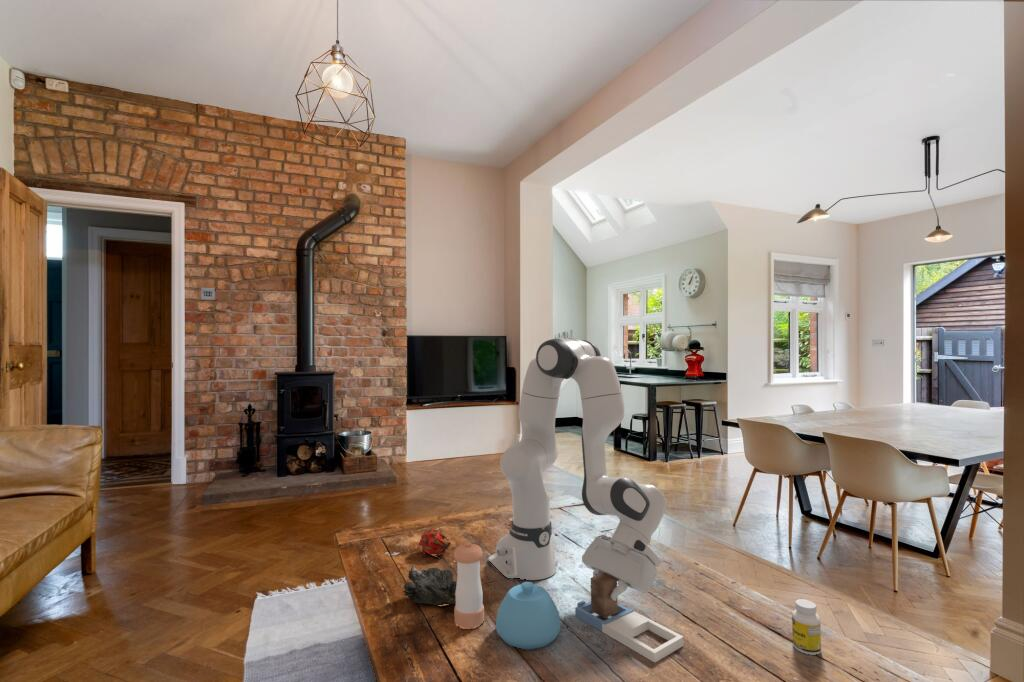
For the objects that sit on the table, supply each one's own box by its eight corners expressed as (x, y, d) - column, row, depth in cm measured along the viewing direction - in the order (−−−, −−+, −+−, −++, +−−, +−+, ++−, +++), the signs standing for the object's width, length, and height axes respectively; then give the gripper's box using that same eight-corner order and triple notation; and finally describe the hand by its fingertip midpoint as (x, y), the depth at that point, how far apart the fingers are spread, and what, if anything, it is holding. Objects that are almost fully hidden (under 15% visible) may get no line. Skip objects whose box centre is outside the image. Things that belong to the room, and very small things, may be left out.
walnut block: (591, 610, 127) (590, 577, 127) (604, 604, 130) (603, 572, 130) (604, 618, 123) (604, 584, 124) (617, 612, 126) (617, 579, 126)
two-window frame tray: (573, 614, 128) (573, 604, 128) (601, 602, 134) (601, 592, 134) (654, 662, 108) (654, 651, 108) (683, 645, 114) (683, 634, 114)
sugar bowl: (511, 660, 110) (510, 605, 110) (486, 625, 124) (485, 577, 124) (572, 643, 116) (571, 591, 116) (542, 612, 130) (541, 565, 130)
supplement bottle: (787, 642, 115) (786, 598, 115) (810, 640, 115) (809, 596, 115) (803, 656, 110) (801, 610, 110) (827, 655, 110) (826, 608, 110)
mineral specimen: (398, 595, 129) (413, 553, 134) (398, 599, 140) (412, 560, 145) (457, 614, 129) (469, 571, 134) (452, 617, 140) (464, 577, 145)
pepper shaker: (456, 613, 130) (455, 537, 130) (485, 613, 129) (484, 536, 130) (452, 629, 122) (451, 548, 122) (483, 629, 122) (481, 548, 122)
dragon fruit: (424, 552, 172) (446, 568, 164) (407, 544, 167) (430, 559, 159) (437, 529, 175) (460, 543, 167) (422, 520, 170) (445, 534, 162)
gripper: (592, 526, 139) (566, 572, 133) (654, 549, 123) (627, 603, 117) (604, 539, 142) (579, 585, 136) (666, 563, 125) (641, 617, 119)
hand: (602, 594), depth 126 cm, fingers closed on walnut block, 4 cm apart
